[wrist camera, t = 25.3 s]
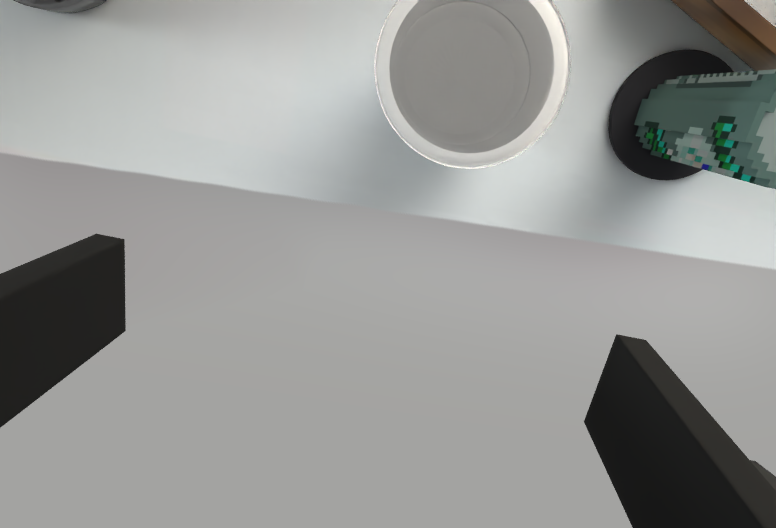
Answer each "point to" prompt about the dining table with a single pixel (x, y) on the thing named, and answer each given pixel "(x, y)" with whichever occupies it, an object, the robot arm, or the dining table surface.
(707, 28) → the wooden square frame
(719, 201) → the dining table surface
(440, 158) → the jar
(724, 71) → the coaster
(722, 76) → the can
